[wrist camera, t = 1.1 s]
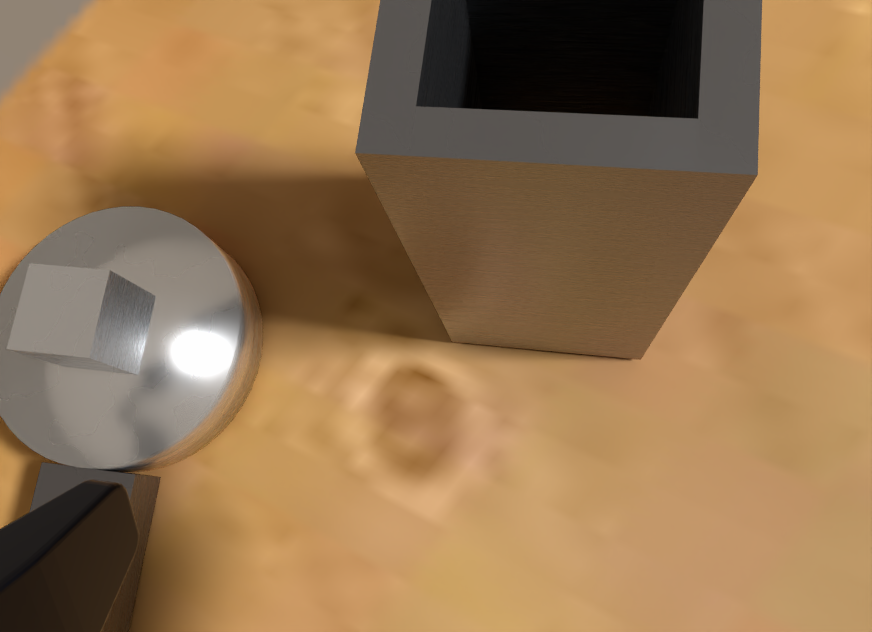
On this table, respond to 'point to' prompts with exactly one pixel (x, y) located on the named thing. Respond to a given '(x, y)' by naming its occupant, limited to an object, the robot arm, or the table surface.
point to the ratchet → (124, 356)
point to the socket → (561, 158)
